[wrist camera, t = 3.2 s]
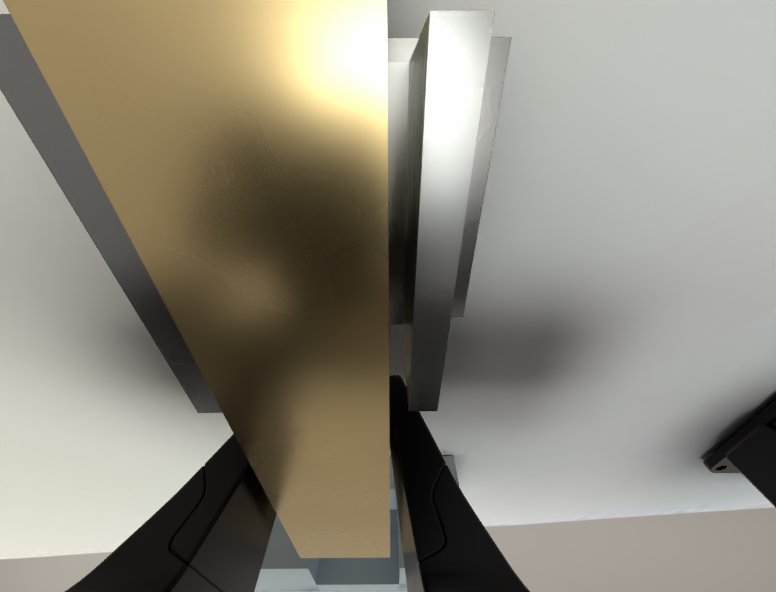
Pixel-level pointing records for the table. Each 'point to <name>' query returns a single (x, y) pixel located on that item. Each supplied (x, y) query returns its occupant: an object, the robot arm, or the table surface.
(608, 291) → the table surface
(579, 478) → the table surface
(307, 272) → the tan square rod
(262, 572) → the slate-blue socket
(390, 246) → the grey sleeve
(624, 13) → the table surface
